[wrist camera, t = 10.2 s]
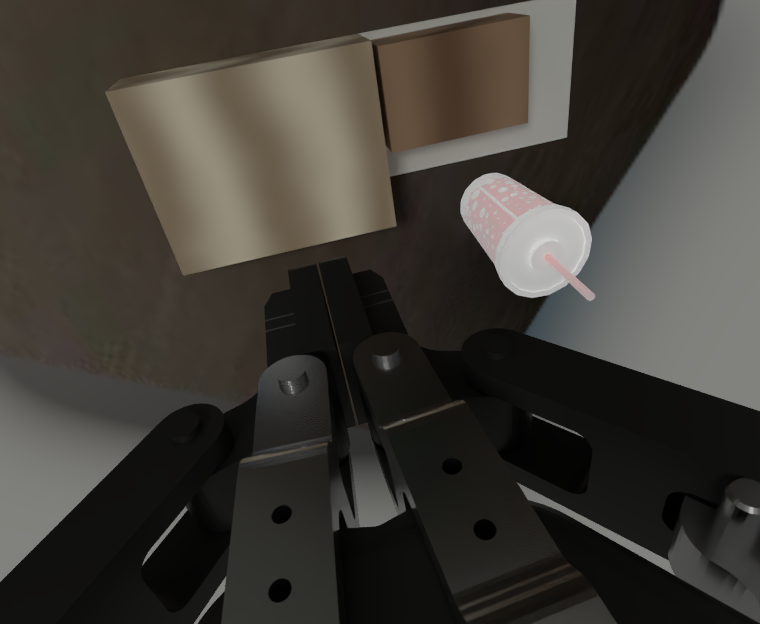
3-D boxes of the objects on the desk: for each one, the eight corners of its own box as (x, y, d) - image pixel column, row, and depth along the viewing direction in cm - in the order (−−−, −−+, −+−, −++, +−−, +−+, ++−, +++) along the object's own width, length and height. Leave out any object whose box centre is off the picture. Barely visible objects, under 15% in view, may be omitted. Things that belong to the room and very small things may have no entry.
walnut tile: (507, 12, 31) (529, 15, 29) (508, 112, 35) (527, 122, 32) (366, 40, 31) (377, 46, 28) (381, 140, 34) (392, 153, 32)
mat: (574, -8, 32) (576, -8, 32) (564, 136, 37) (566, 137, 37) (357, 33, 31) (358, 34, 30) (379, 177, 36) (380, 178, 35)
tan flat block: (357, 33, 31) (371, 40, 27) (382, 204, 37) (396, 226, 34) (120, 78, 29) (104, 92, 26) (188, 247, 35) (183, 275, 32)
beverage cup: (476, 254, 41) (565, 361, 30) (435, 200, 38) (518, 298, 26) (539, 204, 40) (658, 296, 28) (503, 144, 36) (621, 221, 25)
